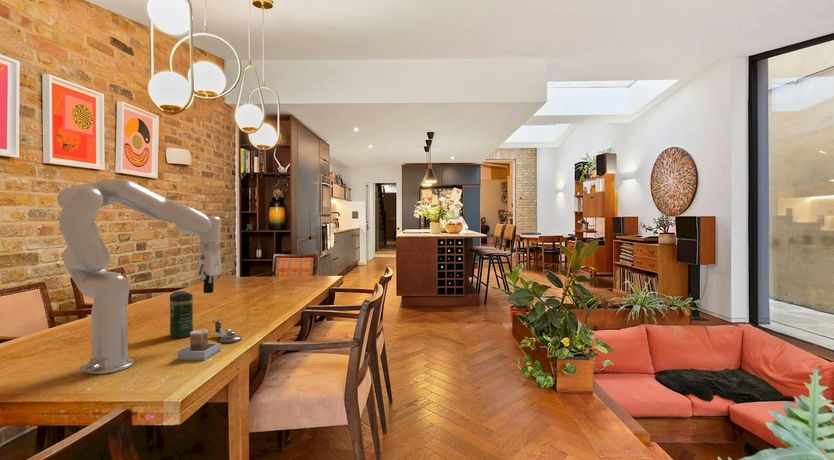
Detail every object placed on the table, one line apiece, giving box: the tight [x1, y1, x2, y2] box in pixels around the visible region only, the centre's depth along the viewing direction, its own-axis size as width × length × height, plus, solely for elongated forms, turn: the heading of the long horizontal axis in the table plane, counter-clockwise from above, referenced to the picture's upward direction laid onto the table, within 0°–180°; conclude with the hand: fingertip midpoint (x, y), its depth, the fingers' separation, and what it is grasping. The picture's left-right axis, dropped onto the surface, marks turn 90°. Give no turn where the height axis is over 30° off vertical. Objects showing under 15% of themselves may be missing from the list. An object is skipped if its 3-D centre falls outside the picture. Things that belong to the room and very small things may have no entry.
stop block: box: [189, 328, 209, 351], centre depth 149 cm, size 4×4×8 cm
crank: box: [212, 318, 236, 338], centre depth 169 cm, size 12×4×6 cm, turn 56°
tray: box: [177, 342, 221, 361], centre depth 149 cm, size 10×10×3 cm
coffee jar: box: [169, 290, 194, 339], centre depth 173 cm, size 10×8×19 cm
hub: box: [219, 334, 242, 344], centre depth 167 cm, size 8×8×1 cm
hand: (208, 292), depth 165 cm, fingers closed
